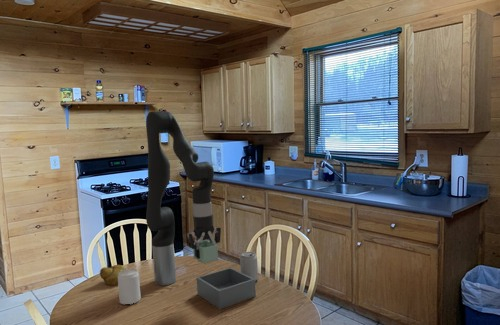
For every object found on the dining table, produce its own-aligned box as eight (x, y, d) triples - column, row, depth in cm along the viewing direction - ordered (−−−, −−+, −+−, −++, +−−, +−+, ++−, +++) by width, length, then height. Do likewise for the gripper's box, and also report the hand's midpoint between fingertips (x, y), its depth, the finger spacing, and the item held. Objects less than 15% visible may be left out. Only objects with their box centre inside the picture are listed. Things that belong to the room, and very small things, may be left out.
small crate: (193, 257, 157) (192, 243, 156) (207, 254, 160) (206, 240, 160) (204, 263, 149) (203, 248, 149) (218, 260, 153) (217, 245, 152)
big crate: (197, 293, 162) (196, 277, 162) (231, 282, 172) (230, 267, 171) (220, 309, 148) (219, 291, 147) (255, 296, 158) (254, 279, 157)
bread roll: (115, 275, 188) (114, 258, 187) (134, 276, 185) (132, 259, 184) (98, 286, 175) (97, 268, 175) (117, 287, 173) (116, 270, 172)
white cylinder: (144, 297, 161) (142, 269, 160) (132, 306, 153) (130, 276, 152) (128, 295, 164) (125, 267, 163) (115, 304, 156) (112, 275, 155)
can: (256, 283, 170) (255, 256, 169) (239, 283, 171) (238, 256, 170) (259, 277, 177) (258, 251, 176) (243, 276, 179) (241, 250, 177)
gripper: (214, 209, 160) (217, 249, 162) (181, 215, 152) (184, 258, 154) (223, 212, 154) (226, 254, 156) (190, 218, 146) (193, 263, 148)
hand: (205, 256), depth 155 cm, fingers closed on small crate, 6 cm apart
